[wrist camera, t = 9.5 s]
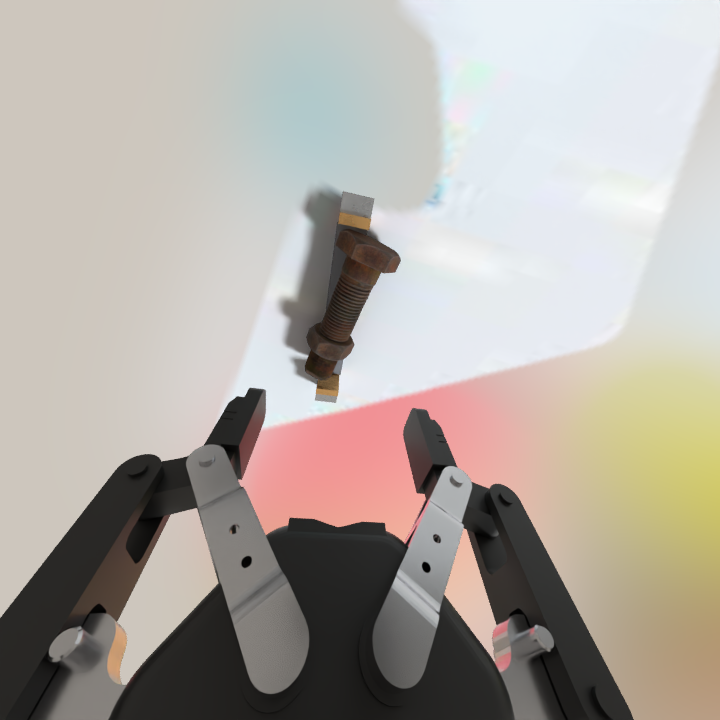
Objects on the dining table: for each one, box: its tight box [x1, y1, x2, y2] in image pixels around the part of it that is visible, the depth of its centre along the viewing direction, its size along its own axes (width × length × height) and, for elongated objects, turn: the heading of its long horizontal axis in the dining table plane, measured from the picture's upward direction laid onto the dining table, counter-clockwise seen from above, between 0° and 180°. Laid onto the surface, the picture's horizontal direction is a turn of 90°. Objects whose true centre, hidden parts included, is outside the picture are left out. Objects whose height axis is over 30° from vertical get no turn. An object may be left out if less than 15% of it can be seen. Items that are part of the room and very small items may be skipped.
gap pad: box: [326, 222, 367, 375], centre depth 27 cm, size 17×3×1 cm, turn 169°
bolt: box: [305, 229, 401, 380], centre depth 25 cm, size 6×5×15 cm
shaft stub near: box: [338, 192, 374, 230], centre depth 21 cm, size 2×2×4 cm
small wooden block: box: [315, 374, 339, 403], centre depth 31 cm, size 2×2×4 cm
